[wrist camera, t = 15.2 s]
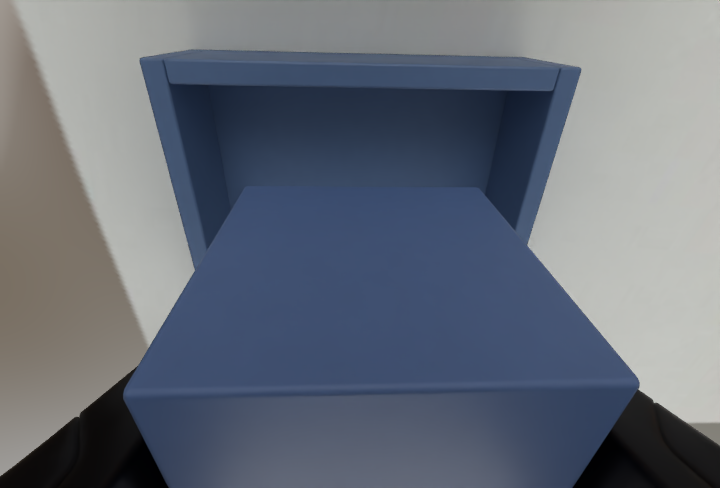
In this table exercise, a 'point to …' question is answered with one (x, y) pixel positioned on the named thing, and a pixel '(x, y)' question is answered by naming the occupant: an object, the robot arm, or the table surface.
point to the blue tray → (354, 126)
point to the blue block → (374, 351)
